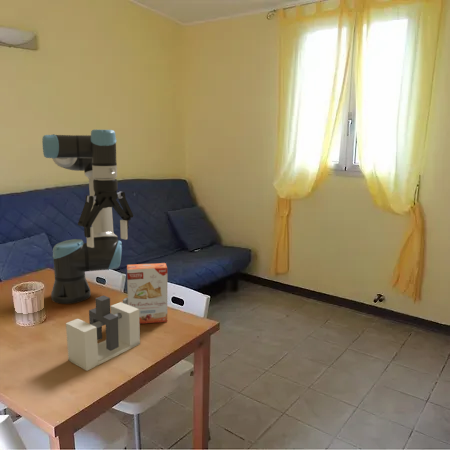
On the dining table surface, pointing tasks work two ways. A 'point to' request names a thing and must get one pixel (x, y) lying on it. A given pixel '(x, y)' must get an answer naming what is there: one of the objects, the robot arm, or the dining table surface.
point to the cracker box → (148, 291)
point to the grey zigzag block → (105, 322)
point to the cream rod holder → (97, 353)
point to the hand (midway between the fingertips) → (108, 242)
